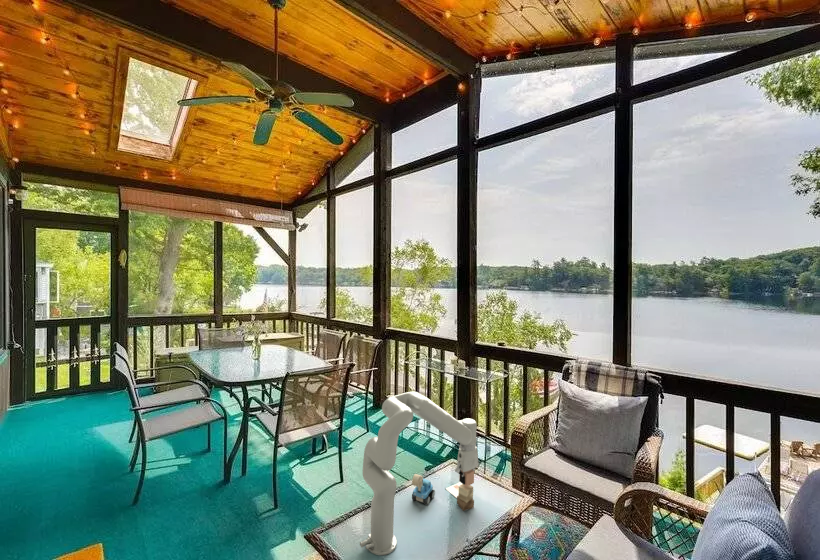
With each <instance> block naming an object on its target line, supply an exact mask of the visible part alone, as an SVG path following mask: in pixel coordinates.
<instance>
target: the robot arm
mask: <svg viewBox="0 0 820 560" xmlns="http://www.w3.org/2000/svg"><path fill="white" fill-rule="evenodd" d="M381 405H382V406H381V411H382V413H383V415H384V416H385V417H387V418H388V419H387V420H385V422H384V423H383V424H382V425H381V427H380V428H379V430H378V433H377V436H374V437H372V438H370V439H369V440H368V442H367V443H366V445H365V448H364V450H363V451H364V452H363V462H362V478H363V480H364V482H365V483H366V484H367V485H368V486H369V488H370V489H371V490H372V492H373V496H372V499H371V503H370V533H369V534H368V535H367V538H366V539H365V540H361V541H360V542H359V546H360V548H364V547H365V550H368V551H369V552H370V553H371V554H373V555H377V556H386V555H387V556H388V555H389V554H391V553H393V552H394V551H395V549H396V548H397V545H398V543H397V537H396V536H395V534H394V522H395V521H394V518H395V516H394V515H395V514H394V512H395V511H394V510H395V497H396V491H397V480H396V478H395V476H394V474H392V472H390V470H392V469H393V468H394V467H395V465H396V459H397V448H398V442H399V436H400V435H401V433H402V431H403V430H404V429H406V428H407V427H408V426H409V425H410V424H411V422H412V421H413V419H414V414H415V415H417V416H418V417H419V418H420V419H422V420H424V421H425V422H427V423H428V424H429V425H430V426H432V427H433V428H435V429H437V430H439V431H440V432H442V433H444V434H445V435H447V436H448V437H450V438H451V439H453V440H454V441H456V442H457V443H459V446H458V448H459V449H458V452H457V453H458V454H457V461H456V462H457V464H456V465H457V466H456V468H455V469H454V472H456V473H457V474H458V475H460V481H459V482H461V483H462V484H465V476H464V475H465V472H466V471H469V470H471V469H472V470H473V471H474V473H475V472H476V469H477V467H478V465H479V464H480V462H479V453H478V448H477V428H478V427H477V422H476V420H475V419H474V418H469V417H468V418H467V417H466V418H463V419H461V420H458V419H456V418H455V417H453V416H452V415H451V414H450V413H449V412H447V411H446V410H444V409H443V408H441V407H440V406H439V405H438V404H436V403H435V402H434V401H432V400H431V399H430V398H428V397H427V396H425V395H424V394H421V393H420V392H418V391H408V392H407V391H406V392H404V393H400V394H399V393H398V394H395V395H393V396H390V397H388V398H386V399H385V400H384V402H382V404H381ZM462 471H463V473H462Z"/></svg>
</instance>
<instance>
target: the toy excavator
mask: <svg viewBox="0 0 820 560" xmlns="http://www.w3.org/2000/svg"><path fill="white" fill-rule="evenodd" d="M411 485H412V486H414V487H415V488H414V489H413V491H412V494H411V500H413V501H415V502H416V501H418V502H420V503H423V504H424V505H427V506H428V505H429V504H430V501H431V500H433V499H434V498H435V494H436V491H435V489H434V488H433V487H434V486H433V484H432V482H431V481H430V480H429V479H426V478H423V476H422V475H420V474H417V473H414V475H413V477H412V480H411Z"/></svg>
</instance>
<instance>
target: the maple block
mask: <svg viewBox="0 0 820 560" xmlns="http://www.w3.org/2000/svg"><path fill="white" fill-rule="evenodd" d="M473 490H474V486H473V485H472V484H471V485H469V486H467V487H466V486H465V485H464V484H462V485H460V486H459V495H458V498H459V499H461V500H462V501H464V502H466V503H467V502H469V501H470V500H472V499H473V500H474V491H473Z"/></svg>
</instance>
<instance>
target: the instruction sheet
mask: <svg viewBox="0 0 820 560" xmlns="http://www.w3.org/2000/svg"><path fill="white" fill-rule="evenodd" d="M460 485H462V483H461V482H460V481H458V482H457V483H455V484H452V485H450V486H448V487H446V488H445V490H446V491H447V492H449V493H450V495H452V496H453V497H455V499H457V496H458V495H459V486H460Z"/></svg>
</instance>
